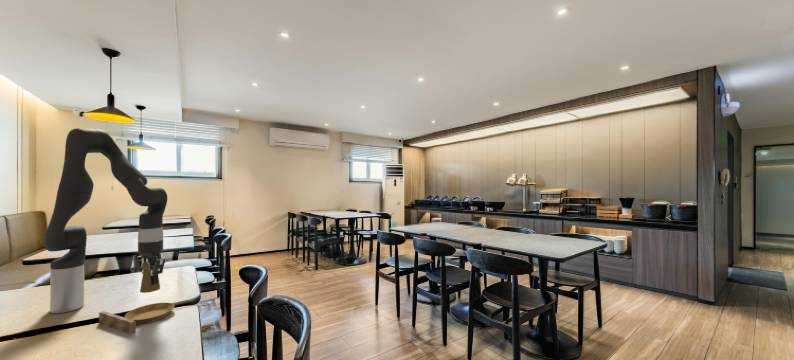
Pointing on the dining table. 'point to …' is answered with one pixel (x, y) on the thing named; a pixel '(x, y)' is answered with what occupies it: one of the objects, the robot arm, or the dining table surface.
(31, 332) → the dining table surface
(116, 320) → the walnut divider wall
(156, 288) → the tan tall tapered piece
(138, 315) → the plant saucer
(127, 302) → the dining table surface
